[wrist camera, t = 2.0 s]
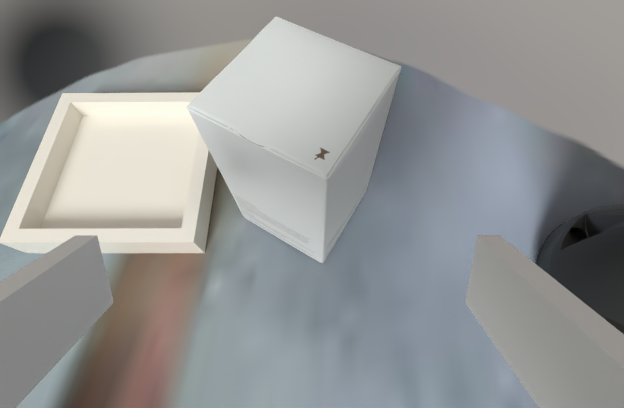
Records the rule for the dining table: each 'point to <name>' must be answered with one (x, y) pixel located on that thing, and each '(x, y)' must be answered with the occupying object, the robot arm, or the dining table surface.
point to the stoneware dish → (117, 177)
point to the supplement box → (297, 131)
